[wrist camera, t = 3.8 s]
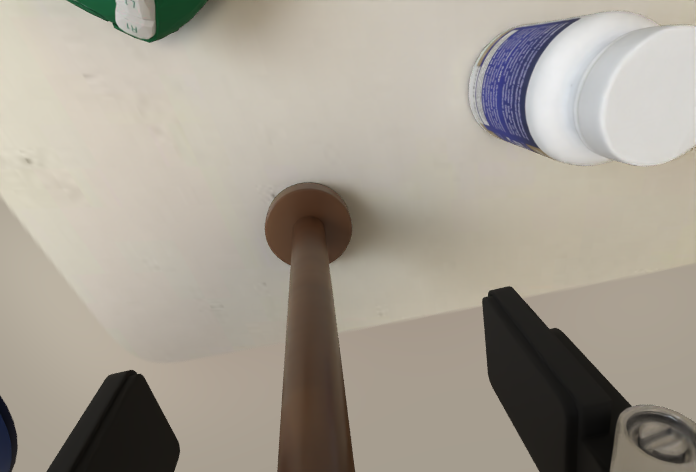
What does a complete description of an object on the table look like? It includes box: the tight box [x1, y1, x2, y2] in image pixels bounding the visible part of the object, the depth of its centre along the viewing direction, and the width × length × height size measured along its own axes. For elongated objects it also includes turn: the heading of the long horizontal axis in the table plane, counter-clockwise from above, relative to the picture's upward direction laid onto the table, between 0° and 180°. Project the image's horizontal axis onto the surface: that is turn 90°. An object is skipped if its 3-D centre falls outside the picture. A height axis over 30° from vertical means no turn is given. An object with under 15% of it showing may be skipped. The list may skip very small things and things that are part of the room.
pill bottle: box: [469, 11, 696, 166], centre depth 16 cm, size 5×5×9 cm
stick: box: [265, 183, 355, 472], centre depth 15 cm, size 4×4×15 cm
